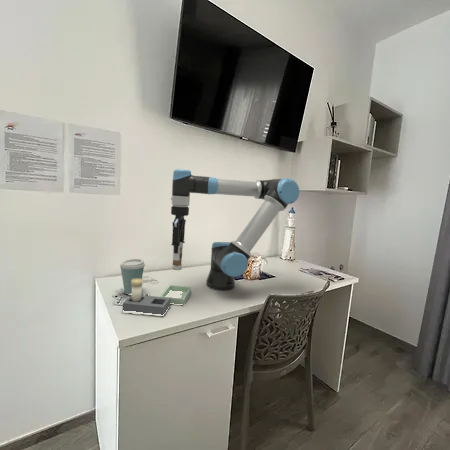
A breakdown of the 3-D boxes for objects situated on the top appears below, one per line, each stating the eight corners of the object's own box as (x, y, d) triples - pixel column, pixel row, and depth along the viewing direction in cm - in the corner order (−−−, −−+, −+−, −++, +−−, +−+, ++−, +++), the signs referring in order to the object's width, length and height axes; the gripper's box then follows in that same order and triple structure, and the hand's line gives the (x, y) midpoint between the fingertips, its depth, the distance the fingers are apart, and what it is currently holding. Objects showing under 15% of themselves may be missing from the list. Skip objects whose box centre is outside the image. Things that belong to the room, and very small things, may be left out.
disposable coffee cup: (129, 299, 113) (130, 265, 111) (114, 293, 119) (114, 260, 117) (148, 292, 122) (150, 261, 120) (133, 286, 128) (134, 256, 126)
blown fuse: (182, 267, 118) (184, 241, 117) (180, 270, 114) (181, 243, 113) (173, 267, 118) (174, 241, 117) (170, 269, 114) (172, 242, 113)
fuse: (143, 307, 107) (144, 278, 106) (139, 311, 103) (140, 282, 101) (133, 306, 107) (134, 277, 106) (128, 310, 103) (129, 281, 102)
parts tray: (190, 293, 125) (191, 287, 124) (183, 306, 110) (184, 299, 110) (169, 290, 126) (169, 284, 125) (159, 303, 111) (159, 296, 111)
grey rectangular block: (169, 307, 109) (170, 297, 108) (163, 317, 100) (163, 307, 99) (132, 303, 110) (132, 294, 109) (122, 312, 101) (122, 303, 100)
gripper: (177, 204, 122) (174, 253, 124) (165, 206, 105) (163, 263, 107) (192, 205, 121) (189, 255, 124) (184, 207, 104) (180, 264, 107)
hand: (177, 258), depth 116 cm, fingers closed on blown fuse, 4 cm apart
